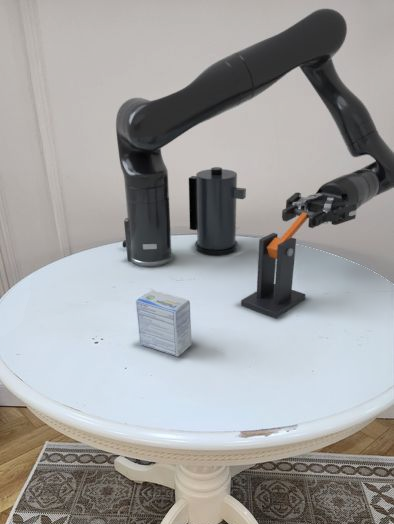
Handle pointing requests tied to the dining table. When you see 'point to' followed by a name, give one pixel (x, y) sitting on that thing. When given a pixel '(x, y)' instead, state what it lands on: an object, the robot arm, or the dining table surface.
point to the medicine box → (164, 322)
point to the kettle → (214, 210)
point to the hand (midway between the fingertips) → (297, 219)
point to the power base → (279, 294)
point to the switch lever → (289, 231)
